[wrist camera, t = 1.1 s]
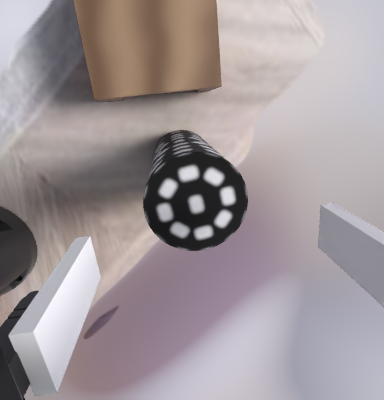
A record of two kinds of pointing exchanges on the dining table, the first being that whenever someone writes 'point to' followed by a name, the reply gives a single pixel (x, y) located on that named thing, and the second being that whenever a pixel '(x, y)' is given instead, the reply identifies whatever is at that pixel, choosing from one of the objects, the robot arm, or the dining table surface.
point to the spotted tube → (193, 193)
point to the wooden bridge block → (149, 46)
